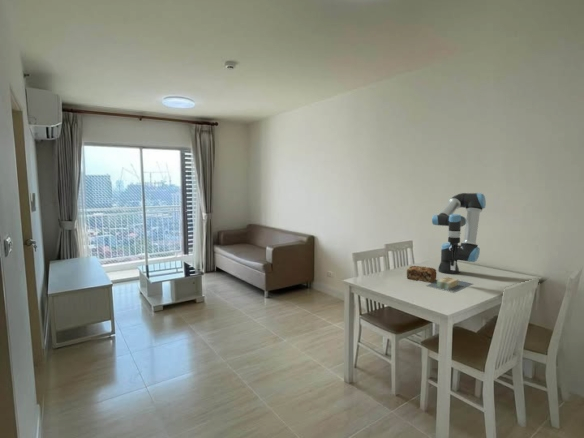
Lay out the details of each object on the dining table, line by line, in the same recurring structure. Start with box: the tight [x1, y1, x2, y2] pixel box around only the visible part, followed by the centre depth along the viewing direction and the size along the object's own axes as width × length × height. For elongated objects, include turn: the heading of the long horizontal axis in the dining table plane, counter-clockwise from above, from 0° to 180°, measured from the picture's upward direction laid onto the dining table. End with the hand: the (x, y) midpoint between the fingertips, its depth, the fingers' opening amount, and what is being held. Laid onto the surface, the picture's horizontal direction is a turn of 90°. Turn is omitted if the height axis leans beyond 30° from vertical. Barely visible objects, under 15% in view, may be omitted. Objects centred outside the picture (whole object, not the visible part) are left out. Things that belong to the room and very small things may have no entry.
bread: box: [406, 265, 437, 284], centre depth 250 cm, size 19×11×10 cm, turn 44°
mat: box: [425, 280, 473, 294], centre depth 236 cm, size 20×28×1 cm
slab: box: [436, 276, 459, 289], centre depth 233 cm, size 8×4×14 cm
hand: (452, 269), depth 237 cm, fingers closed
